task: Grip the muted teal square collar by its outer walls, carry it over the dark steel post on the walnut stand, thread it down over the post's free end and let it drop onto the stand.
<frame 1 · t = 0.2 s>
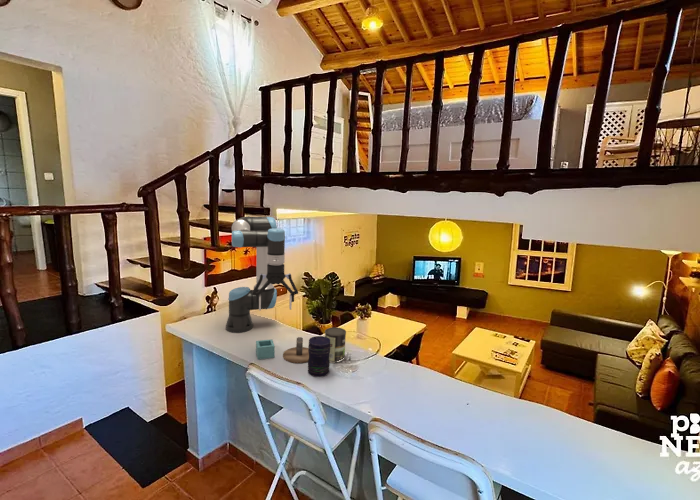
hand: (275, 309, 161), 27 cm above the worktop, fingers open, 13 cm apart
coffee can: (334, 358, 175), on the worktop
post stand: (299, 355, 175), on the worktop
collar: (265, 354, 174), on the worktop
storage jar: (318, 371, 161), on the worktop
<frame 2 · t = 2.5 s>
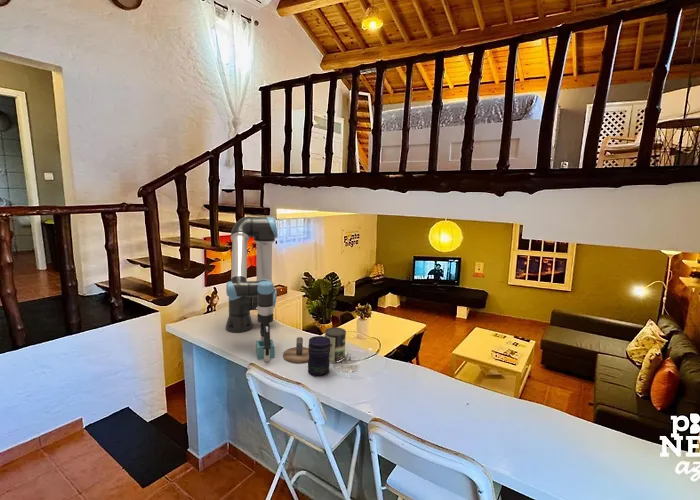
hand: (265, 354, 174), 0 cm above the worktop, fingers open, 13 cm apart
nothing on the worktop moved.
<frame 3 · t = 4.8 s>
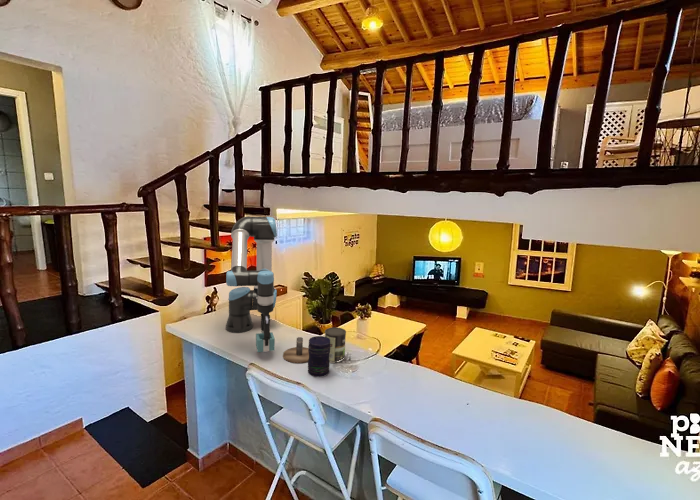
hand: (265, 347, 174), 4 cm above the worktop, fingers closed on collar, 8 cm apart
collar: (265, 347, 174), point 4 cm above the worktop, touching gripper
everything else where it was.
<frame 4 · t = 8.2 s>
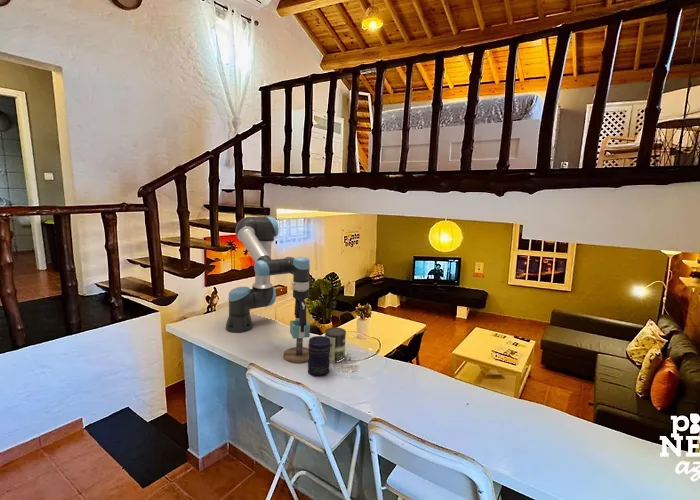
hand: (299, 334, 174), 11 cm above the worktop, fingers closed on collar, 8 cm apart
collar: (299, 334, 174), point 11 cm above the worktop, touching gripper
everything else where it was.
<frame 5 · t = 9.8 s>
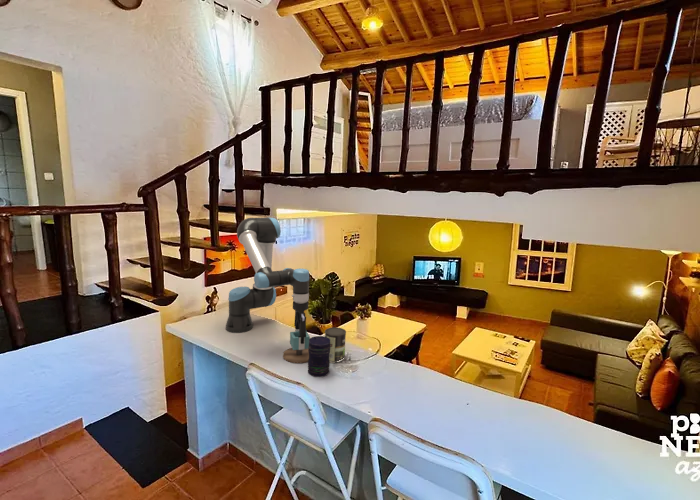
hand: (299, 345, 174), 5 cm above the worktop, fingers closed on collar, 8 cm apart
collar: (299, 345, 174), point 5 cm above the worktop, touching gripper
everything else where it was.
when the fingers open (2 cm above the worktop, at t = 11.5 s): collar stays where it is, resting on post stand.
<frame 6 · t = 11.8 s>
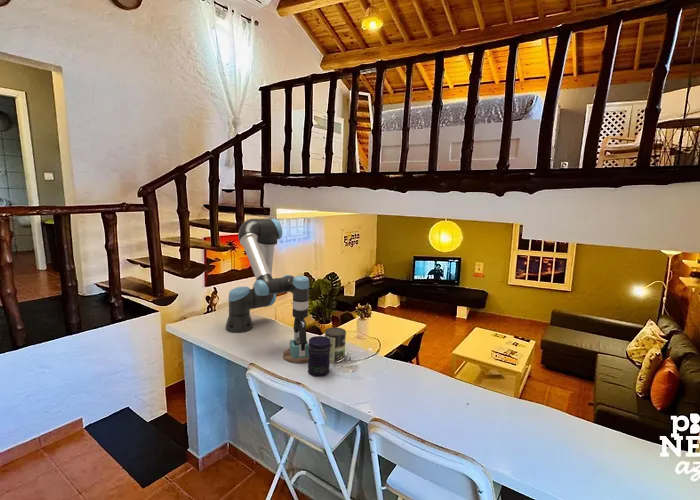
hand: (299, 350, 175), 3 cm above the worktop, fingers open, 12 cm apart
collar: (299, 354, 175), point 1 cm above the worktop, touching post stand
everything else where it was.
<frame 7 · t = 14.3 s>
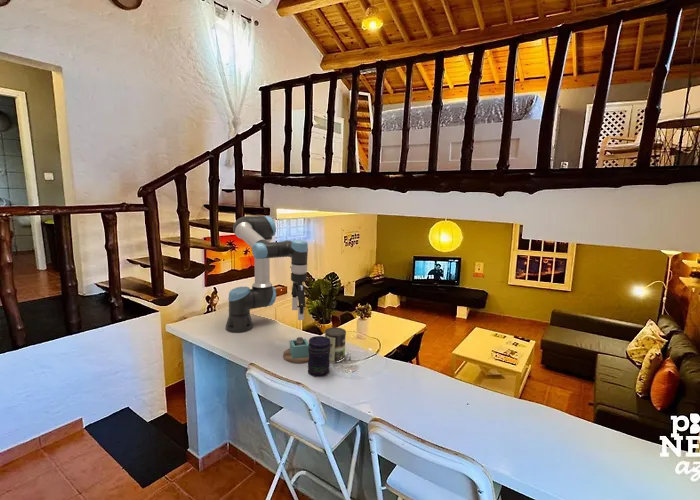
hand: (297, 314, 173), 21 cm above the worktop, fingers open, 13 cm apart
nothing on the worktop moved.
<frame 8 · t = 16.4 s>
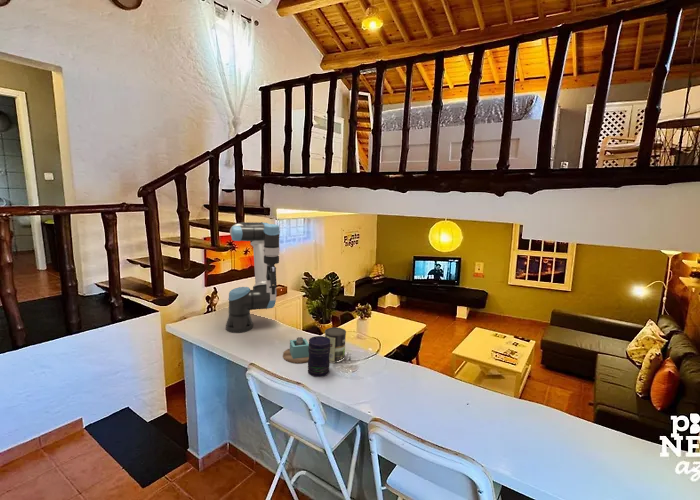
hand: (271, 296, 181), 27 cm above the worktop, fingers open, 13 cm apart
nothing on the worktop moved.
at the end: collar 0.1 cm from the post stand (horizontally); collar point 0.8 cm above the worktop; the gripper is holding nothing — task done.
